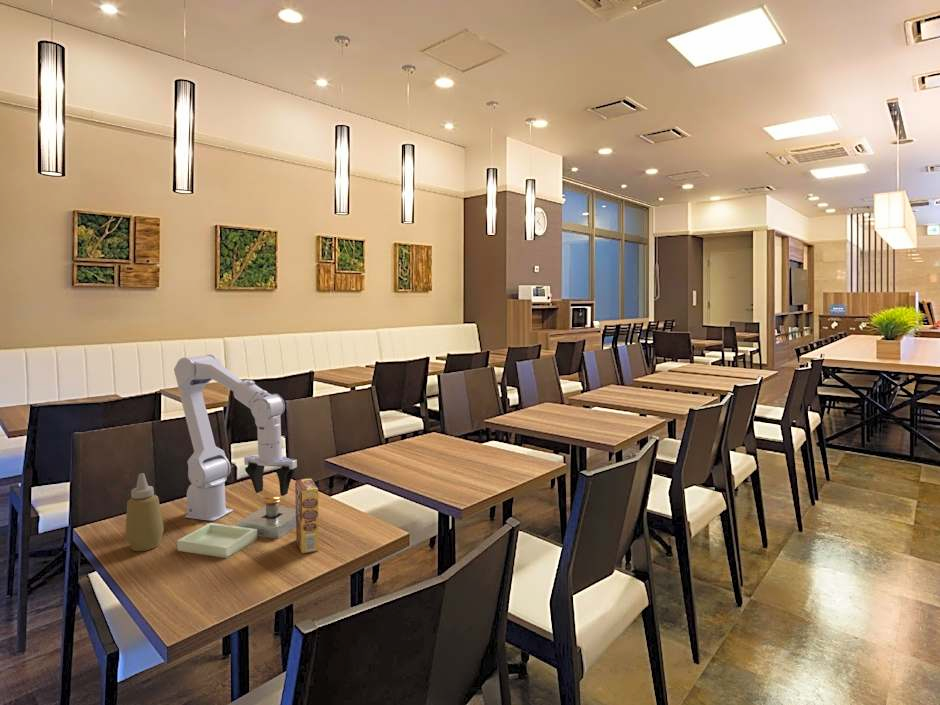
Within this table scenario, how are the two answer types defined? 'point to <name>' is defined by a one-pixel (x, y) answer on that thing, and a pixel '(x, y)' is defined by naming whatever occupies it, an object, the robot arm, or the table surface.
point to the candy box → (307, 515)
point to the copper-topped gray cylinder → (271, 505)
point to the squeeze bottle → (143, 517)
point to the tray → (217, 540)
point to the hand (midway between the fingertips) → (271, 493)
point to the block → (270, 522)
